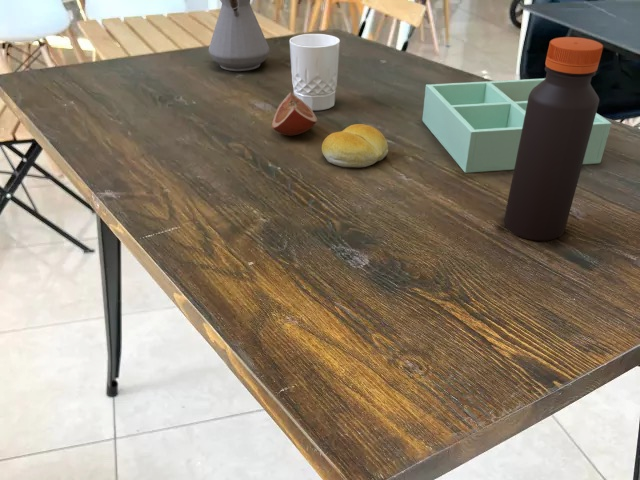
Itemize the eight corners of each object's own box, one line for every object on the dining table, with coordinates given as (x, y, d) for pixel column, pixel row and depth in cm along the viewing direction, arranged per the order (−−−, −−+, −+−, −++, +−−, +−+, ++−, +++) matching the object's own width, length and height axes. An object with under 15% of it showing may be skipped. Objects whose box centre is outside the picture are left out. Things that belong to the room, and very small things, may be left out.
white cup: (322, 115, 103) (323, 49, 97) (281, 106, 106) (279, 42, 100) (347, 101, 108) (349, 38, 102) (307, 93, 111) (306, 31, 105)
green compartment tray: (538, 114, 104) (546, 78, 100) (600, 163, 88) (611, 123, 85) (422, 121, 101) (425, 84, 98) (465, 173, 86) (471, 132, 82)
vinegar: (504, 210, 77) (540, 32, 65) (563, 217, 76) (611, 37, 64) (501, 237, 72) (539, 49, 60) (565, 246, 71) (616, 55, 59)
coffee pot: (211, 57, 128) (203, -28, 119) (269, 56, 129) (266, -29, 120) (204, 92, 111) (195, -4, 102) (271, 90, 112) (267, -5, 103)
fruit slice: (271, 123, 100) (270, 90, 97) (315, 122, 100) (315, 89, 97) (273, 144, 93) (271, 110, 90) (319, 143, 94) (319, 108, 91)
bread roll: (310, 157, 90) (310, 129, 87) (354, 140, 95) (355, 113, 92) (354, 176, 85) (355, 146, 82) (398, 156, 90) (400, 128, 87)
